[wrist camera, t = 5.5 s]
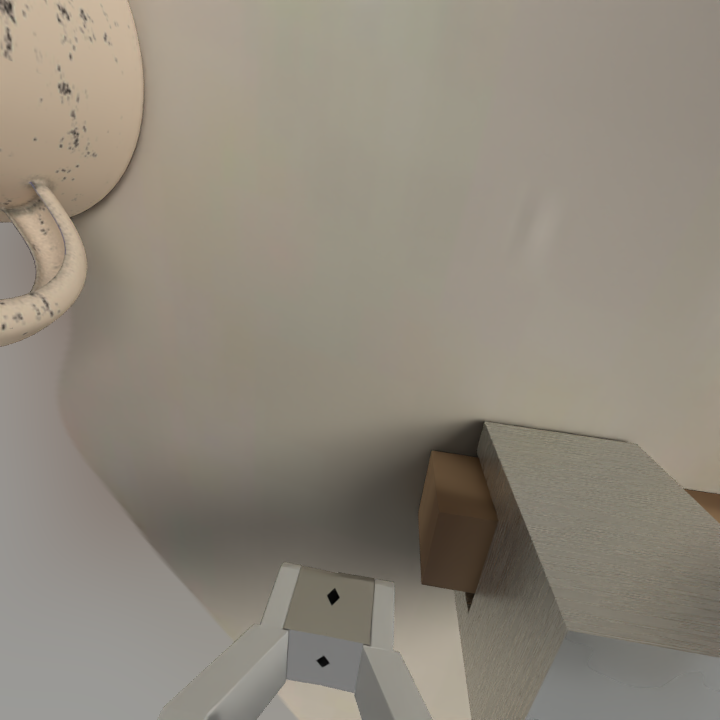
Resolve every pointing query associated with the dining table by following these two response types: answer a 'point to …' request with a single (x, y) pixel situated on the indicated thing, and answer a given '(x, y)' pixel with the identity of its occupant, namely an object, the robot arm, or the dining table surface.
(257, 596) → the dining table surface
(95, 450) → the dining table surface
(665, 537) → the block
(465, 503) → the rail
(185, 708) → the robot arm
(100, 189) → the teacup with lid
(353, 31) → the dining table surface
